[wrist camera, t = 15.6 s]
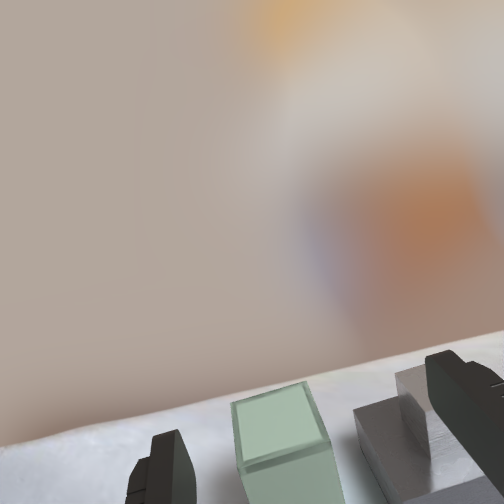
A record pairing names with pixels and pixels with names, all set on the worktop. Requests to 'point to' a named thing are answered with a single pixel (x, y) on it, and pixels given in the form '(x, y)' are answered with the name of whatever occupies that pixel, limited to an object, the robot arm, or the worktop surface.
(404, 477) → the grey step block
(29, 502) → the worktop surface
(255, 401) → the tall mint pillar
